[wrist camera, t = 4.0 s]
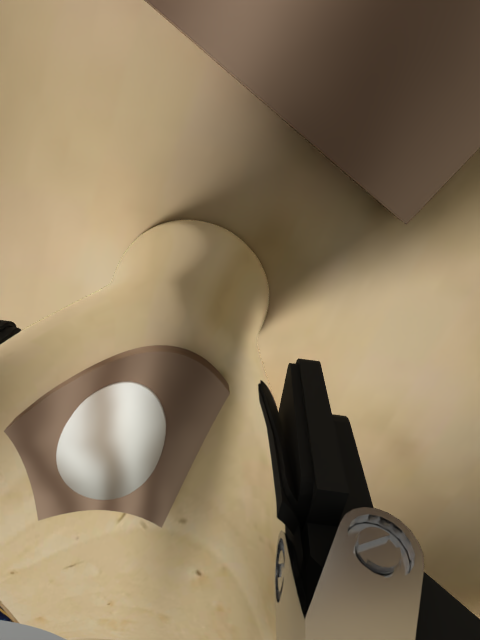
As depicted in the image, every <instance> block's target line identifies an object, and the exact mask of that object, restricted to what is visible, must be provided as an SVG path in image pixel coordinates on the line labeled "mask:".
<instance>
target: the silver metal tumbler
mask: <svg viewBox="0 0 480 640" xmlns="http://www.w3.org/2000/svg"><path fill="white" fill-rule="evenodd" d="M268 305H269V287H268V281H267V278H266V274H265V272H264V269H263V267H262V265H261V263H260V261H259V260H258V258H257V256H256V255H255V254H254V252H253V251H252V250H251V249H250V248H249V246H248V245H247V244H246V243H245V242H243V241H242V240H241V239H240V238H239V237H237V236H236V235H235V234H233V233H231V232H230V231H228V230H226V229H224V228H222V227H220V226H217V225H215V224H212V223H208V222H204V221H198V220H175V221H170V222H166V223H162V224H160V225H157V226H155V227H153V228H151V229H149V230H147V231H146V232H144V233H143V234H141V235H140V236H139V237H138V238H137V239H136V240H135V241H134V242H133V243H132V244H131V245H130V246H129V247H128V249H127V250H126V251H125V253H124V254H123V256H122V257H121V259H120V261H119V263H118V266H117V268H116V270H115V273H114V275H113V278H112V280H111V283H110V284H108V285H107V286H105V287H103V288H101V289H99V290H98V291H96V292H94V293H92V294H90V295H88V296H86V297H84V298H82V299H80V300H78V301H76V302H74V303H72V304H70V305H68V306H66V307H64V308H62V309H60V310H58V311H56V312H54V313H53V314H51V315H49V316H47V317H45V318H43V319H41V320H39V321H37V322H35V323H33V324H32V325H30V326H28V327H26V328H24V329H23V330H21V331H19V332H18V333H16V334H14V335H13V336H11V337H9V338H8V339H6V340H5V341H3V342H1V343H0V640H306V634H305V617H306V615H307V612H308V609H309V605H308V589H307V573H306V564H305V556H304V548H303V539H302V531H301V523H300V515H299V508H298V501H297V493H296V484H295V480H294V475H293V471H292V466H291V462H290V458H289V453H288V449H287V445H286V440H285V436H284V431H283V427H282V423H281V420H280V416H279V413H278V410H277V406H276V403H275V400H274V397H273V393H272V390H271V387H270V383H269V380H268V377H267V374H266V371H265V368H264V365H263V361H262V358H261V355H260V351H259V347H258V341H257V337H258V334H259V332H260V330H261V328H262V325H263V323H264V321H265V318H266V314H267V310H268Z"/></svg>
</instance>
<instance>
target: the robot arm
mask: <svg viewBox="0 0 480 640" xmlns="http://www.w3.org/2000/svg"><path fill="white" fill-rule="evenodd" d="M19 331H21V329H19V328H17V327H16V325H15V323H13V322H12V321H4V320H0V343H1V342H3V341H5V340H6V339H8V338H9V337H11V336H13V335H14V334H16V333H18V332H19ZM279 416H280V420H281V423H282V427H283V431H284V436H285V440H286V445H287V449H288V453H289V458H290V462H291V466H292V471H293V475H294V480H295V484H296V493H297V501H298V508H299V515H300V523H301V531H302V539H303V548H304V556H305V564H306V573H307V589H308V605H309V609H308V612H307V615H306V617H305V634H306V640H480V619H479V618H477V617H476V616H475V615H474V614H473V613H472V612H470V611H469V610H468V609H467V608H466V607H465V606H463V605H462V604H461V603H460V602H459V601H458V600H456V599H455V598H454V597H453V596H452V595H451V594H449V593H448V592H447V591H446V590H445V589H444V588H442V587H441V586H440V585H439V584H438V583H436V582H435V581H434V580H433V579H432V578H431V577H429V576H428V575H427V574H426V573H425V572H424V555H423V552H422V550H421V547H420V544H419V542H418V540H417V539H416V538H415V536H414V535H413V533H412V532H411V530H410V529H409V528H408V527H406V526H405V525H404V524H403V523H402V522H401V521H400V520H399V519H397V518H395V517H394V516H392V515H391V514H389V513H387V512H384V511H382V510H379V509H376V508H373V505H372V501H371V497H370V494H369V490H368V487H367V483H366V479H365V476H364V472H363V468H362V465H361V461H360V457H359V454H358V450H357V447H356V443H355V439H354V436H353V432H352V428H351V425H350V422H349V419H348V418H347V417H346V416H340V415H332V413H331V408H330V404H329V399H328V395H327V390H326V386H325V381H324V377H323V372H322V368H321V364H320V362H319V361H313V360H305V359H298V360H297V362H296V364H292V363H289V365H288V369H287V374H286V379H285V383H284V388H283V393H282V398H281V403H280V408H279Z"/></svg>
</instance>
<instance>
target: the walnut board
mask: <svg viewBox="0 0 480 640" xmlns="http://www.w3.org/2000/svg"><path fill="white" fill-rule="evenodd" d="M145 1H146V2H147V3H148V4H149V5H151V6H152V7H153V8H154V9H155V10H156V11H158V12H159V13H160V14H161V15H162V16H163V17H165V18H166V19H167V20H168V21H169V22H170V23H171V24H173V25H174V26H175V27H176V28H177V29H178V30H180V31H181V32H182V33H183V34H184V35H185V36H187V37H188V38H189V39H190V40H191V41H192V42H194V43H195V44H196V45H197V46H198V47H199V48H201V49H202V50H203V51H204V52H205V53H206V54H208V55H209V56H210V57H211V58H212V59H213V60H214V61H216V62H217V63H218V64H219V65H220V66H221V67H223V68H224V69H225V70H226V71H227V72H228V73H230V74H231V75H232V76H233V77H234V78H235V79H237V80H238V81H239V82H240V83H241V84H242V85H244V86H245V87H246V88H247V89H248V90H249V91H250V92H252V93H253V94H254V95H255V96H256V97H257V98H259V99H260V100H261V101H262V102H263V103H264V104H266V105H267V106H268V107H269V108H270V109H271V110H273V111H274V112H275V113H276V114H277V115H278V116H280V117H281V118H282V119H283V120H284V121H285V122H287V123H288V124H289V125H290V126H291V127H292V128H293V129H295V130H296V131H297V132H298V133H299V134H300V135H302V136H303V137H304V138H305V139H306V140H307V141H309V142H310V143H311V144H312V145H313V146H314V147H316V148H317V149H318V150H319V151H320V152H321V153H323V154H324V155H325V156H326V157H327V158H328V159H329V160H331V161H332V162H333V163H334V164H335V165H336V166H338V167H339V168H340V169H341V170H342V171H343V172H345V173H346V174H347V175H348V176H349V177H350V178H352V179H353V180H354V181H355V182H356V183H357V184H359V185H360V186H361V187H362V188H363V189H364V190H365V191H367V192H368V193H369V194H370V195H371V196H372V197H374V198H375V199H376V200H377V201H378V202H379V203H381V204H382V205H383V206H384V207H385V208H386V209H388V210H389V211H390V212H391V213H392V214H393V215H395V216H396V217H397V218H398V219H400V220H401V221H402V222H404V223H405V224H407V223H408V222H409V221H410V220H411V219H412V218H413V217H414V216H415V215H416V214H417V213H418V212H419V211H420V209H421V208H422V207H423V206H424V205H425V204H426V203H427V202H428V201H429V200H430V199H431V198H432V197H433V196H434V195H435V194H436V193H437V192H438V191H439V190H440V189H441V188H442V186H443V185H444V184H445V183H446V182H447V181H448V180H449V179H450V178H451V177H452V176H453V175H454V174H455V173H456V172H457V171H458V170H459V169H460V168H461V167H462V166H463V165H464V164H465V162H466V161H467V160H468V159H469V158H470V157H471V156H472V155H473V154H474V153H475V152H476V151H477V150H478V149H479V148H480V0H145Z"/></svg>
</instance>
